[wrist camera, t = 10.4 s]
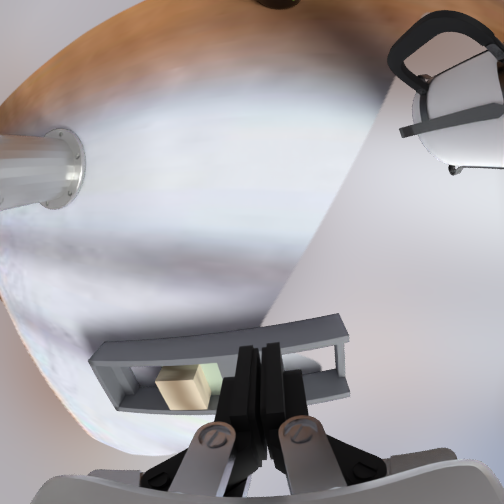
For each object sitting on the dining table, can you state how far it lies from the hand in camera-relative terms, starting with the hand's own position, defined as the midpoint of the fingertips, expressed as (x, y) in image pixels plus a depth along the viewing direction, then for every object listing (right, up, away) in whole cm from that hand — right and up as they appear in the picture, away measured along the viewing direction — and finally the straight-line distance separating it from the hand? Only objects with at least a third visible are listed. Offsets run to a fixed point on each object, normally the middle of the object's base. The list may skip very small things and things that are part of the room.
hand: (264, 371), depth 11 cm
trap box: (-6, -12, +30) cm, 32 cm away
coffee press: (+24, +23, +19) cm, 38 cm away
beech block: (-10, -14, +28) cm, 33 cm away
